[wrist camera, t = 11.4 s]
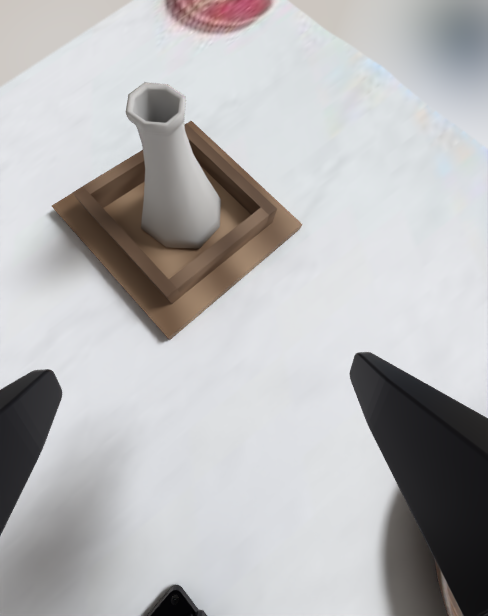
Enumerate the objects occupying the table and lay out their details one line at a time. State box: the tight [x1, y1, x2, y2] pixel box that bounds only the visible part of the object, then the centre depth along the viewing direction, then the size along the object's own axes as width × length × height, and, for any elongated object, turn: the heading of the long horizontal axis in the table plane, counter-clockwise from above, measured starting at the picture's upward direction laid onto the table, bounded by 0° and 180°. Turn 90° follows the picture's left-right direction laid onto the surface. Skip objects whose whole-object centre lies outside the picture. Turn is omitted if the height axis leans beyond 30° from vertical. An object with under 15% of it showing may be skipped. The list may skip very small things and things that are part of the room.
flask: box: [126, 82, 221, 249], centre depth 19 cm, size 7×7×10 cm
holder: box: [52, 121, 302, 339], centre depth 23 cm, size 16×16×3 cm
